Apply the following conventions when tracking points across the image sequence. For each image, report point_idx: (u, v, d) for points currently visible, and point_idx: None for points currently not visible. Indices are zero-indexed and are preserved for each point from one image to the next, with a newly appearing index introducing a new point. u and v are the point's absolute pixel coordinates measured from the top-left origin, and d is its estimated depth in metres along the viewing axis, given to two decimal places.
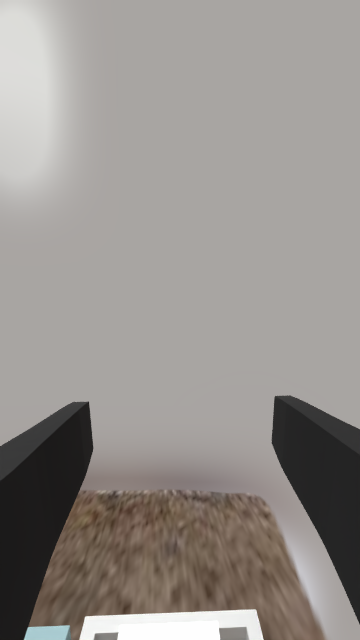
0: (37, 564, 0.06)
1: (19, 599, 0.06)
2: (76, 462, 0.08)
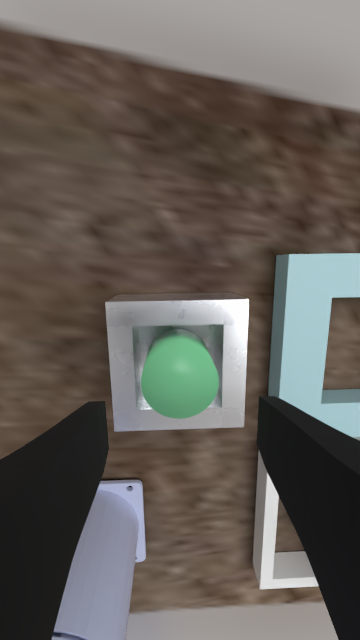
0: (62, 563, 0.06)
1: (48, 598, 0.06)
2: (94, 461, 0.09)
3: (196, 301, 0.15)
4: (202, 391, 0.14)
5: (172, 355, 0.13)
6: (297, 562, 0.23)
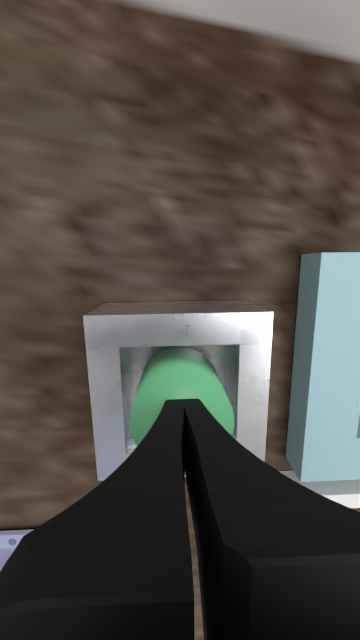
0: None
1: None
2: None
3: (204, 314, 0.11)
4: None
5: (172, 388, 0.10)
6: None
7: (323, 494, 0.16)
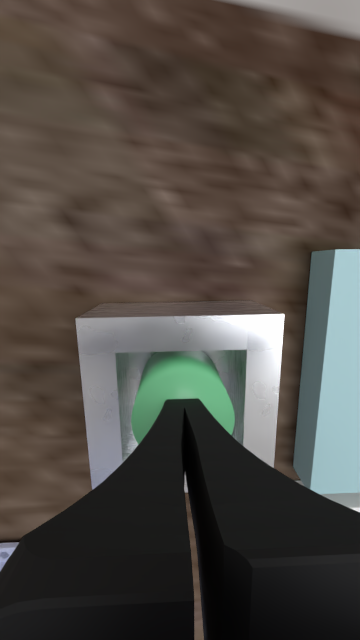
0: None
1: None
2: None
3: (208, 317, 0.10)
4: None
5: (173, 385, 0.10)
6: None
7: None
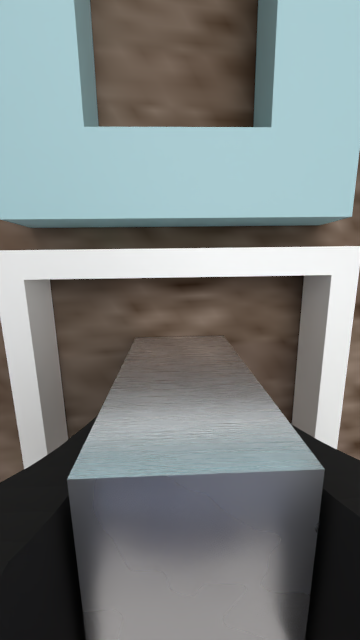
0: None
1: None
2: None
3: None
4: None
5: None
6: None
7: (51, 250, 0.09)
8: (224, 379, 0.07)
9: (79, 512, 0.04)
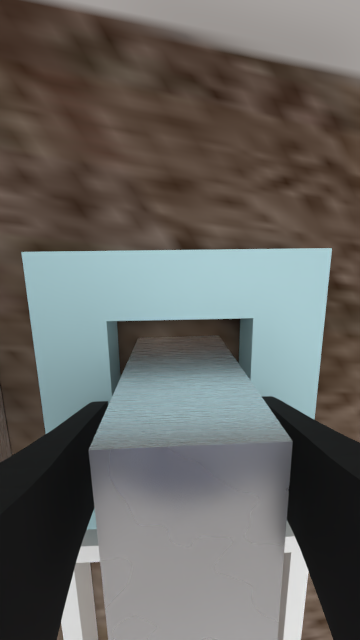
0: (67, 563, 0.06)
1: (53, 598, 0.06)
2: None
3: None
4: None
5: None
6: None
7: (92, 544, 0.13)
8: (217, 373, 0.08)
9: (98, 476, 0.05)
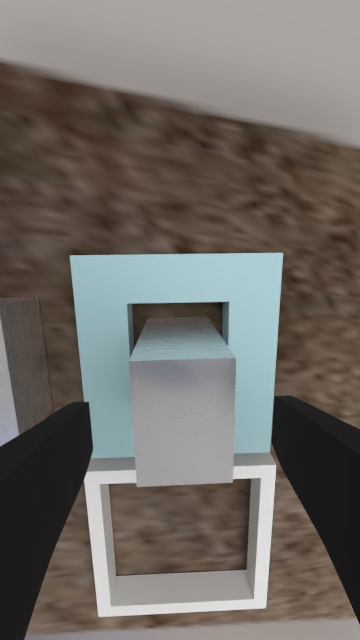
0: (37, 564, 0.06)
1: (19, 599, 0.06)
2: (76, 462, 0.08)
3: None
4: None
5: None
6: (146, 586, 0.21)
7: (114, 470, 0.18)
8: (201, 334, 0.13)
9: (133, 376, 0.10)
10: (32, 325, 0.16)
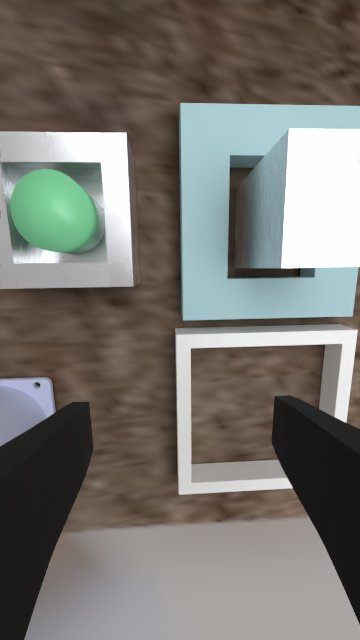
0: (37, 564, 0.06)
1: (19, 599, 0.06)
2: (76, 462, 0.08)
3: (69, 134, 0.14)
4: (73, 220, 0.14)
5: (39, 179, 0.13)
6: (221, 470, 0.22)
7: (204, 333, 0.18)
8: None
9: (291, 145, 0.11)
10: (134, 184, 0.17)
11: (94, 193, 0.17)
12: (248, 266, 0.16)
